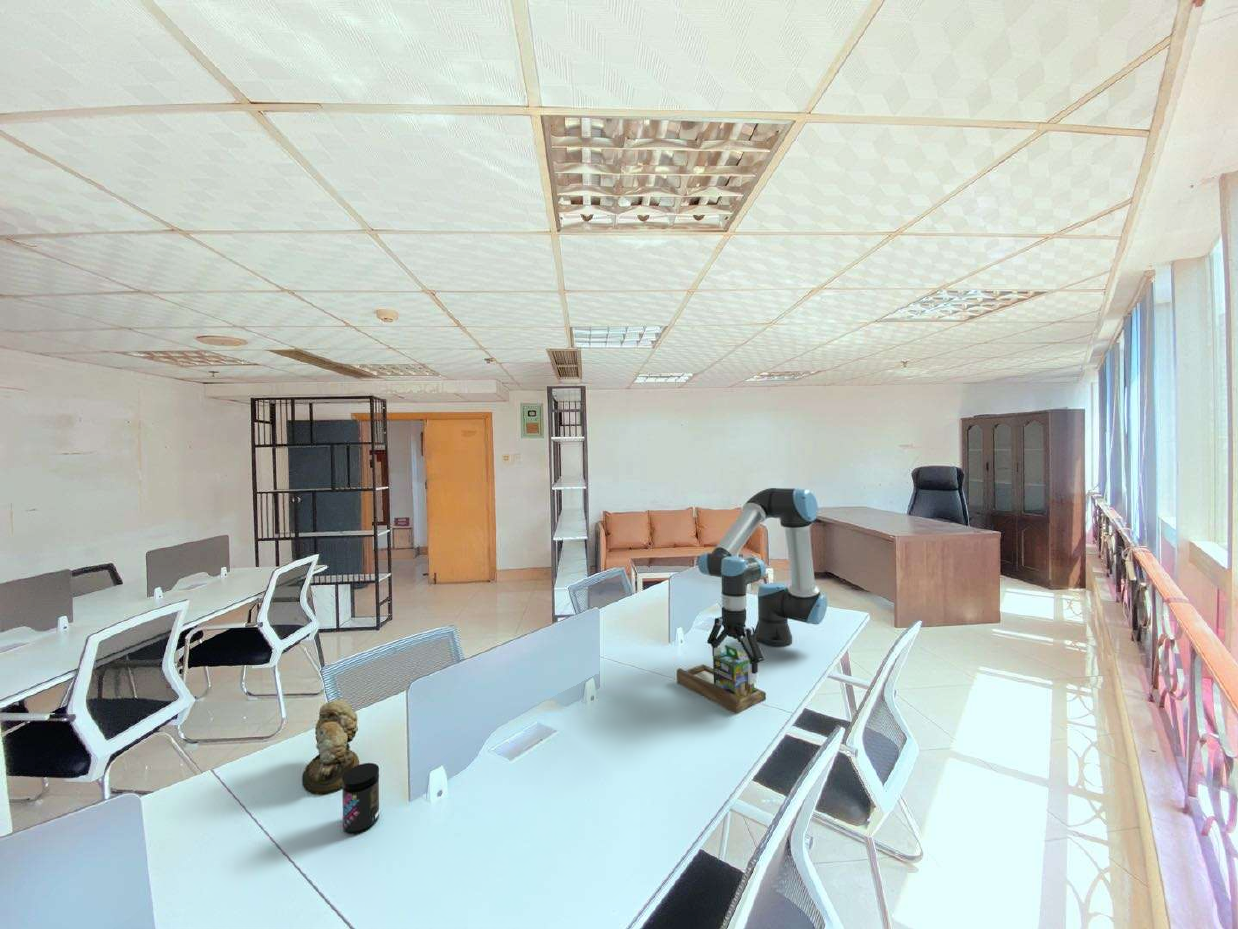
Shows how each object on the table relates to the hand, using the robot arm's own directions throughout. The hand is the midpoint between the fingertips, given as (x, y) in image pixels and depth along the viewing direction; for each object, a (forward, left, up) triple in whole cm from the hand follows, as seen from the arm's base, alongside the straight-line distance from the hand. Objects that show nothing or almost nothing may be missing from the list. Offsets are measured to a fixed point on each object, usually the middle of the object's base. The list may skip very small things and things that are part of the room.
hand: (734, 675), depth 150 cm
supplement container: (+102, -13, -7) cm, 103 cm away
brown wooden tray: (0, -6, -7) cm, 9 cm away
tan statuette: (+105, -36, -8) cm, 111 cm away
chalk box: (0, 0, -6) cm, 6 cm away
